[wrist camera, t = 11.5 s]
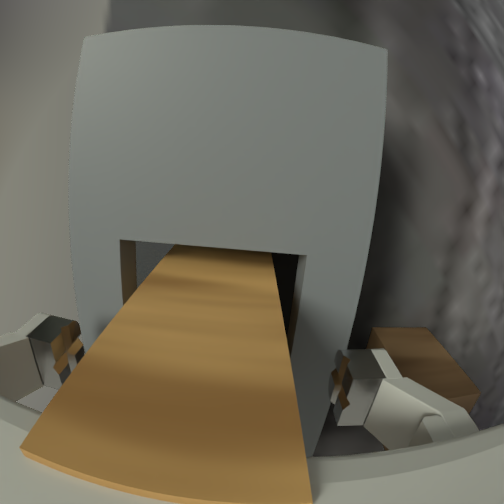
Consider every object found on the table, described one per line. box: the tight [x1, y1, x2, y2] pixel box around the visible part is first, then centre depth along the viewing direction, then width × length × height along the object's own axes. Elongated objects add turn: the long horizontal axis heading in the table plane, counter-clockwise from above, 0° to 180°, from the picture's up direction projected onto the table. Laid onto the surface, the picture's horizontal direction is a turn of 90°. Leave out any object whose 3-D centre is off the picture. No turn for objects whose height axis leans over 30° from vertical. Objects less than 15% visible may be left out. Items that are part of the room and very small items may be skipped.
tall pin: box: [19, 244, 313, 504], centre depth 10 cm, size 4×4×14 cm
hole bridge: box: [69, 25, 387, 457], centre depth 14 cm, size 20×10×6 cm, turn 175°
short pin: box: [366, 327, 481, 451], centre depth 15 cm, size 4×4×7 cm
